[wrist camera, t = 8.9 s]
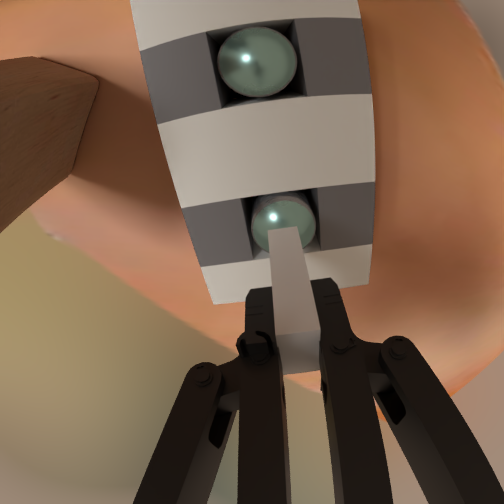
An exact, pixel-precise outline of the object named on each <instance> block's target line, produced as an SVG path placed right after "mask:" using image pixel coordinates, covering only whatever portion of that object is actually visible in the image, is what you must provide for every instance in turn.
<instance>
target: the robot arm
mask: <svg viewBox="0 0 504 504" xmlns="http://www.w3.org/2000/svg"><path fill="white" fill-rule="evenodd" d="M268 242H269V254H270V267H271V280H272V286H270V287H262V288H254V289H250V291H249V293H248V294H247V296H246V301H245V308H246V309H245V332H244V333H242V334H241V335H240V337H239V338H238V339H237V343H236V347H237V350H238V352H239V356H238V357H236V358H235V359H234V360H232V361H230V362H227V363H224V364H222V365H219V366H216V365H215V364H212V363H210V362H202V363H199V364H196V365H195V366H193V367H192V368H191V369H190V370H189V371H188V373H187V375H186V377H185V379H184V381H183V384H182V386H181V389H180V391H179V393H178V396H177V398H176V400H175V403H174V405H173V407H172V410H171V412H170V414H169V417H168V419H167V422H166V424H165V427H164V429H163V431H162V434H161V436H160V439H159V441H158V443H157V446H156V448H155V450H154V453H153V455H152V458H151V460H150V462H149V465H148V467H147V470H146V472H145V475H144V477H143V480H142V482H141V484H140V487H139V489H138V492H137V494H136V497H135V499H134V502H133V504H207V501H208V498H209V495H210V492H211V489H212V487H213V483H214V480H215V478H216V474H217V472H218V468H219V465H220V462H221V459H222V456H223V453H224V450H225V447H226V444H227V441H228V438H229V434H230V431H231V428H232V425H233V422H234V418H235V415H236V412H237V410H239V447H238V448H239V449H238V498H237V501H238V502H237V504H291V484H290V465H289V448H288V433H287V432H288V431H287V416H286V401H285V388H284V382H283V375H287V374H295V373H303V372H310V371H317V370H320V372H321V391H322V393H323V400H324V407H325V414H326V422H327V430H328V438H329V446H330V455H331V464H332V473H333V484H334V494H335V504H393V499H392V491H391V485H390V478H389V472H388V466H387V460H386V454H385V449H384V444H383V439H382V434H381V429H380V424H379V420H378V415H377V411H376V406H375V402H374V398H375V400H376V402H377V404H378V406H379V407H380V409H381V411H382V413H383V415H384V417H385V419H386V420H387V422H388V424H389V426H390V428H391V430H392V432H393V434H394V436H395V437H396V439H397V441H398V443H399V445H400V447H401V449H402V451H403V453H404V455H405V457H406V459H407V460H408V462H409V465H410V466H411V469H412V470H413V473H414V474H415V477H416V479H417V480H418V483H419V485H420V487H421V489H422V491H423V493H424V495H425V497H426V499H427V501H428V503H429V504H504V491H503V489H502V487H501V485H500V483H499V481H498V479H497V477H496V475H495V473H494V471H493V469H492V467H491V465H490V464H489V462H488V460H487V458H486V456H485V454H484V453H483V451H482V449H481V447H480V445H479V444H478V442H477V440H476V438H475V437H474V435H473V433H472V432H471V430H470V428H469V426H468V425H467V423H466V422H465V420H464V418H463V417H462V415H461V413H460V412H459V410H458V409H457V407H456V405H455V404H454V402H453V401H452V399H451V398H450V396H449V395H448V393H447V391H446V390H445V388H444V387H443V385H442V384H441V382H440V381H439V379H438V378H437V376H436V375H435V374H434V372H433V371H432V369H431V368H430V366H429V365H428V363H427V362H426V361H425V359H424V358H423V356H422V355H421V353H420V352H419V351H418V349H417V348H416V347H415V345H414V344H413V343H412V342H411V341H410V340H409V339H408V338H406V337H403V336H393V337H389V338H388V339H386V340H385V341H384V342H383V343H373V342H366V341H363V340H361V339H359V338H358V337H356V336H355V334H354V333H353V332H352V329H351V327H350V323H349V320H348V317H347V313H346V310H345V307H344V303H343V300H342V297H341V295H340V291H339V288H338V285H337V284H336V283H335V281H334V280H333V279H332V278H331V277H329V278H323V279H316V280H310V278H309V274H308V270H307V265H306V261H305V257H304V253H303V248H302V244H301V240H300V236H299V232H298V228H297V226H295V227H288V228H281V229H273V230H268ZM373 396H374V398H373Z"/></svg>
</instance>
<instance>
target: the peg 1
mask: <svg viewBox="0 0 504 504" xmlns="http://www.w3.org/2000/svg"><path fill="white" fill-rule="evenodd" d="M217 64H218V70H219V73H220V75H221V77H222V79H223V80H224V82H225V83H226V84H227V85H228V86H229V87H230V88H231V89H233V90H234V91H236V92H238V93H240V94H242V95H245V96H249V97H266V96H270V95H273V94H275V93H277V92H279V91H281V90H282V89H284V88H285V87H286V86H287V85H288V84H289V83H290V81H291V80H292V79H293V77H294V75H295V72H296V68H297V56H296V52H295V50H294V48H293V46H292V44H291V43H290V41H289V40H288V39H287V38H286V37H285V36H284V35H282V34H281V33H279V32H277V31H275V30H273V29H270V28H267V27H257V26H255V27H248V28H244V29H241V30H239V31H237V32H235V33H233V34H232V35H231V36H229V37H228V38H227V39H226V40H225V42H224V43H223V45H222V46H221V48H220V51H219V54H218V62H217Z"/></svg>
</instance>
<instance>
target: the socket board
mask: <svg viewBox="0 0 504 504" xmlns="http://www.w3.org/2000/svg"><path fill="white" fill-rule="evenodd" d="M130 3H131V9H132V15H133V20H134V25H135V31H136V36H137V41H138V45H139V50H140V55H141V60H142V64H143V69H144V73H145V77H146V82H147V86H148V90H149V94H150V98H151V102H152V106H153V110H154V114H155V118H156V122H157V126H158V130H159V133H160V137H161V141H162V144H163V148H164V152H165V155H166V159H167V162H168V166H169V169H170V173H171V176H172V180H173V183H174V186H175V190H176V193H177V196H178V199H179V203H180V206H181V209H182V212H183V216H184V219H185V222H186V225H187V228H188V231H189V234H190V237H191V240H192V243H193V246H194V249H195V252H196V255H197V258H198V261H199V264H200V267H201V270H202V273H203V276H204V278H205V281H206V284H207V287H208V290H209V293H210V295H211V298H212V301H213V304H224V303H234V302H243V301H246V296H247V294H248V293H249V291H250V289H254V288H262V287H270V286H272V280H271V267H270V254H269V253H268V252H266V251H264V250H263V249H261V248H260V247H259V246H258V245H257V244H256V242H255V241H254V239H253V236H252V231H251V222H252V201H251V196H257V195H264V194H271V193H278V192H285V191H293V190H301V189H304V191H305V194H306V197H307V199H308V202H309V204H310V207H311V210H312V212H313V215H314V218H315V221H316V231H315V235H314V237H313V239H312V241H311V242H310V243H309V244H308V245H307V246H306V247H305V248H304V249H303V253H304V257H305V261H306V265H307V270H308V274H309V278H310V280H316V279H323V278H329V277H331V278H332V279H333V280H334V281H335V283H336V284H337V285H338V288H339V289H341V288H348V287H354V286H360V285H366V284H369V275H370V266H371V255H372V243H373V229H374V210H375V134H374V115H373V101H372V90H371V80H370V71H369V63H368V56H367V49H366V43H365V36H364V31H363V25H362V20H361V15H360V10H359V5H358V1H357V0H130ZM255 26H257V27H267V28H270V29H273V30H275V31H277V32H279V33H281V34H282V35H284V36H285V37H286V38H287V39H288V40H289V41H290V43H291V44H292V46H293V48H294V50H295V52H296V56H297V68H296V72H295V75H294V77H293V79H292V80H291V81H290V84H291V90H292V91H287V92H278V93H275V94H273V95H270V96H266V97H244V98H238V99H233V100H232V99H231V94H230V89H229V86H228V85H227V84H226V83H225V82H224V80H223V79H222V77H221V75H220V73H219V70H218V64H217V62H218V54H219V51H220V48H221V45H223V43H224V42H225V40H226V39H227V38H228V37H229V36H231V35H232V34H233V33H235V32H237V31H239V30H241V29H244V28H248V27H255Z"/></svg>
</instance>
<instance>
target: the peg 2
mask: <svg viewBox="0 0 504 504" xmlns="http://www.w3.org/2000/svg"><path fill="white" fill-rule="evenodd" d="M295 226H297V228H298V232H299V236H300V240H301V244H302V248H303V249H304V248H305V247H306V246H307V245H308V244H309V243H310V242H311V241H312V239H313V237H314V235H315V231H316V221H315V218H314V215H313V212H312V210H311V207H310V204H309V202H308V199H307V197H306V194H305V191H304V189H301V190H293V191H285V192H278V193H271V194H264V195H257V196H252V222H251V231H252V236H253V239H254V241H255V242H256V244H257V245H258V246H259V247H260V248H261V249H263V250H264V251H266V252H268V253H269V242H268V230H273V229H281V228H288V227H295Z"/></svg>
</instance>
